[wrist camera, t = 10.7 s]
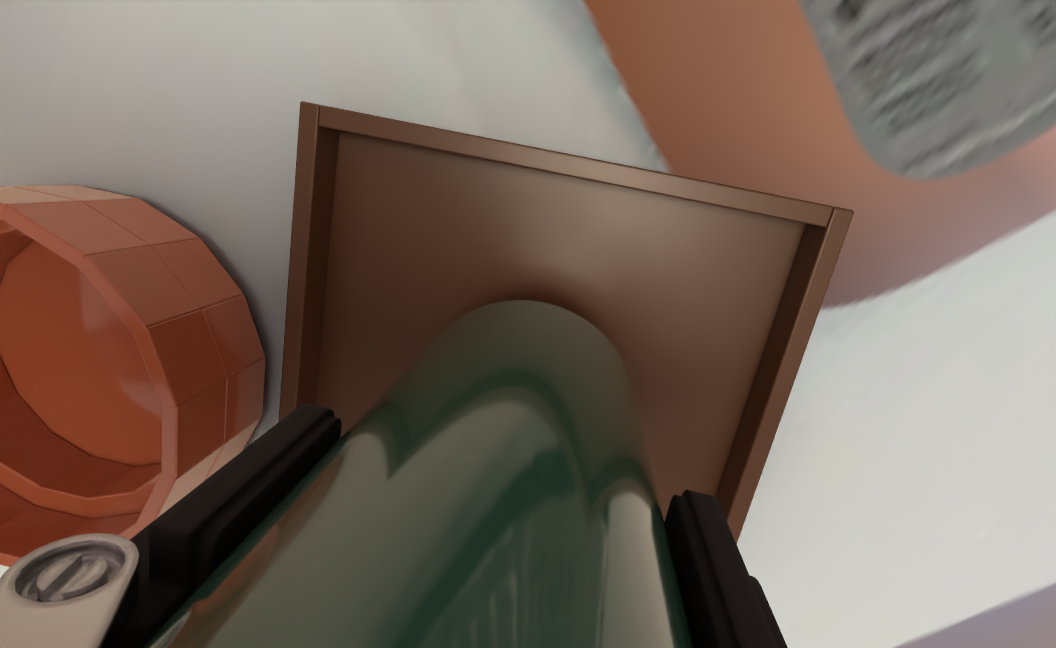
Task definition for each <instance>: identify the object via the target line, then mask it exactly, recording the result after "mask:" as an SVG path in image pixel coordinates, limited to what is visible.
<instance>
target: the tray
mask: <svg viewBox="0 0 1056 648" xmlns="http://www.w3.org/2000/svg"><path fill="white" fill-rule="evenodd" d="M853 214H854V211H853V210H849V209H844V208H839V207H832V206H829V205H824V204H818V203H814V202H808V201H804V200H799V199H793V198H788V197H783V196H778V195H773V194H768V193H763V192H758V191H753V190H748V189H743V188H738V187H733V186H728V185H723V184H718V183H713V182H707V181H702V180H697V179H692V178H687V177H682V176H677V175H672V174H667V173H662V172H657V171H652V170H647V169H642V168H637V167H632V166H627V165H622V164H616V163H611V162H606V161H601V160H596V159H591V158H586V157H581V156H576V155H571V154H566V153H561V152H556V151H551V150H546V149H541V148H536V147H530V146H525V145H520V144H515V143H510V142H505V141H500V140H495V139H490V138H485V137H480V136H475V135H470V134H465V133H460V132H455V131H450V130H445V129H439V128H434V127H429V126H424V125H419V124H414V123H409V122H404V121H399V120H394V119H389V118H384V117H379V116H374V115H369V114H364V113H359V112H353V111H348V110H343V109H338V108H333V107H328V106H323V105H318V104H313V103H308V102H303V101H302V102H301V103H300V116H299V131H298V146H297V160H296V175H295V190H294V204H293V219H292V234H291V248H290V263H289V278H288V293H287V307H286V322H285V337H284V351H283V366H282V381H281V395H280V410H279V422H280V421H281V420H282V419H284V418H285V417H286V416H287V415H289V414H290V413H291V412H293V411H294V410H295V409H296V408H298V407H299V406H300V405H302V404H304V403H306V404H311V405H315V406H320V407H324V408H329V409H332V410H333V411H334V415H335V418H340V419H341V422H342V427H341V437H342V436H343V435H344V434H345V433H346V432H347V431H348V430H349V429H350V428H351V426H352V425H353V424H354V423H355V422H356V421H357V420H358V419H359V418H360V417H361V416H362V415H363V414H364V413H365V412H366V411H367V410H368V409H369V408H370V406H371V405H372V404H373V403H374V402H375V401H376V400H377V399H378V398H379V397H380V396H381V395H382V394H383V393H384V392H385V391H386V390H387V389H388V388H389V387H390V385H391V384H392V383H393V382H394V381H395V380H396V379H397V378H398V377H399V376H400V375H401V374H402V373H403V372H404V371H405V370H406V369H407V368H408V367H409V365H410V364H411V363H412V362H413V361H414V360H415V359H416V358H417V357H418V356H419V355H420V354H421V353H422V352H423V351H424V350H425V349H426V348H427V347H428V345H429V344H430V343H431V342H432V341H433V340H434V339H435V338H436V337H437V336H438V335H439V334H440V333H441V332H442V331H443V330H444V329H445V328H446V327H447V326H448V325H449V324H451V323H452V322H453V321H455V320H456V319H457V318H459V317H461V316H462V315H464V314H466V313H468V312H469V311H471V310H474V309H476V308H479V307H481V306H484V305H488V304H492V303H496V302H501V301H510V300H531V301H538V302H544V303H548V304H552V305H555V306H559V307H561V308H564V309H566V310H568V311H571V312H573V313H575V314H577V315H578V316H580V317H582V318H583V319H585V320H587V321H588V322H589V323H591V324H592V325H593V326H595V327H596V328H597V329H599V330H600V331H601V332H602V333H603V334H604V335H605V336H606V337H607V338H608V339H609V341H610V342H611V343H612V344H613V346H614V347H615V348H616V350H617V351H618V352H619V354H620V356H621V358H622V360H623V361H624V363H625V365H626V367H627V370H628V372H629V375H630V378H631V381H632V385H633V390H634V394H635V398H636V402H637V407H638V411H639V415H640V420H641V424H642V428H643V433H644V437H645V441H646V446H647V450H648V454H649V459H650V463H651V467H652V472H653V476H654V480H655V485H656V489H657V493H658V498H659V502H660V506H661V511H662V515H663V519H664V521H665V518H666V514H667V511H668V508H669V505H670V501H671V499H672V497H673V495H679V496H682V494H683V492H684V491H685V490H686V489H687V490H691V491H695V492H700V493H704V494H709V495H713V496H716V497H717V499H718V501H719V504H720V506H721V508H722V511H723V513H724V516H725V518H726V520H727V523H728V525H729V528H730V530H731V533H732V535H733V537H734V540H735V542H736V544H737V541H738V538H739V536H740V533H741V530H742V527H743V524H744V521H745V519H746V516H747V513H748V510H749V507H750V505H751V502H752V499H753V496H754V493H755V490H756V488H757V485H758V482H759V479H760V476H761V474H762V471H763V468H764V465H765V462H766V459H767V457H768V454H769V451H770V448H771V445H772V443H773V440H774V437H775V434H776V431H777V428H778V426H779V423H780V420H781V417H782V414H783V412H784V409H785V406H786V403H787V400H788V397H789V395H790V392H791V389H792V386H793V383H794V381H795V378H796V375H797V372H798V369H799V366H800V364H801V361H802V358H803V355H804V352H805V349H806V347H807V344H808V341H809V338H810V335H811V333H812V330H813V327H814V324H815V321H816V318H817V316H818V313H819V310H820V307H821V304H822V301H823V299H824V296H825V293H826V290H827V287H828V285H829V282H830V279H831V276H832V273H833V270H834V267H835V265H836V262H837V259H838V256H839V253H840V251H841V248H842V245H843V242H844V240H845V237H846V234H847V231H848V228H849V225H850V222H851V220H852V217H853ZM341 437H340V438H341Z"/></svg>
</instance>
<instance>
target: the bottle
mask: <svg viewBox="0 0 1056 648" xmlns="http://www.w3.org/2000/svg"><path fill="white" fill-rule="evenodd" d="M142 648H693V645H692V640H691V636H690V632H689V627H688V623H687V619H686V614H685V610H684V606H683V602H682V597H681V593H680V589H679V584H678V580H677V576H676V571H675V567H674V563H673V558H672V554H671V550H670V545H669V541H668V537H667V532H666V528H665V524H664V519H663V515H662V511H661V506H660V502H659V498H658V493H657V489H656V485H655V480H654V476H653V472H652V467H651V463H650V459H649V454H648V450H647V446H646V441H645V437H644V433H643V428H642V424H641V420H640V415H639V411H638V407H637V402H636V398H635V394H634V390H633V385H632V381H631V378H630V375H629V372H628V370H627V367H626V365H625V363H624V361H623V360H622V358H621V356H620V354H619V352H618V351H617V350H616V348H615V347H614V346H613V344H612V343H611V342H610V341H609V339H608V338H607V337H606V336H605V335H604V334H603V333H602V332H601V331H600V330H599V329H597V328H596V327H595V326H593V325H592V324H591V323H589V322H588V321H587V320H585V319H583V318H582V317H580V316H578V315H577V314H575V313H573V312H571V311H568V310H566V309H564V308H561V307H559V306H555V305H552V304H548V303H544V302H538V301H531V300H510V301H501V302H496V303H492V304H488V305H484V306H481V307H479V308H476V309H474V310H471V311H469V312H468V313H466V314H464V315H462V316H461V317H459V318H457V319H456V320H455V321H453V322H452V323H451V324H449V325H448V326H447V327H446V328H445V329H444V330H443V331H442V332H441V333H440V334H439V335H438V336H437V337H436V338H435V339H434V340H433V341H432V342H431V343H430V344H429V345H428V347H427V348H426V349H425V350H424V351H423V352H422V353H421V354H420V355H419V356H418V357H417V358H416V359H415V360H414V361H413V362H412V363H411V364H410V365H409V367H408V368H407V369H406V370H405V371H404V372H403V373H402V374H401V375H400V376H399V377H398V378H397V379H396V380H395V381H394V382H393V383H392V384H391V385H390V387H389V388H388V389H387V390H386V391H385V392H384V393H383V394H382V395H381V396H380V397H379V398H378V399H377V400H376V401H375V402H374V403H373V404H372V405H371V406H370V408H369V409H368V410H367V411H366V412H365V413H364V414H363V415H362V416H361V417H360V418H359V419H358V420H357V421H356V422H355V423H354V424H353V425H352V426H351V428H350V429H349V430H348V431H347V432H346V433H345V434H344V435H343V436H342V437H341V438H340V439H339V440H338V441H337V442H336V443H335V444H334V445H333V446H332V448H331V449H330V450H329V451H328V452H327V453H326V454H325V455H324V456H323V457H322V458H321V459H320V460H319V461H318V462H317V463H316V464H315V465H314V466H313V468H312V469H311V470H310V471H309V472H308V473H307V474H306V475H305V476H304V477H303V478H302V479H301V480H300V481H299V482H298V483H297V484H296V485H295V486H294V488H293V489H292V490H291V491H290V492H289V493H288V494H287V495H286V496H285V497H284V498H283V499H282V500H281V501H280V502H279V503H278V504H277V505H276V506H275V508H274V509H273V510H272V511H271V512H270V513H269V514H268V515H267V516H266V517H265V518H264V519H263V520H262V521H261V522H260V523H259V524H258V525H257V526H256V528H255V529H254V530H253V531H252V532H251V533H250V534H249V535H248V536H247V537H246V538H245V539H244V540H243V541H242V542H241V543H240V544H239V545H238V546H237V548H236V549H235V550H234V551H233V552H232V553H231V554H230V555H229V556H228V557H227V558H226V559H225V560H224V561H223V562H222V563H221V564H220V565H219V566H218V568H217V569H216V570H215V571H214V572H213V573H212V574H211V575H210V576H209V577H208V578H207V579H206V580H205V581H204V582H203V583H202V584H201V585H200V586H199V588H198V589H197V590H196V591H195V592H194V593H193V594H192V595H191V596H190V597H189V598H188V599H187V600H186V601H185V602H184V603H183V604H182V605H181V606H180V608H179V609H178V610H177V611H176V612H175V613H174V614H173V615H172V616H171V617H170V618H169V619H168V620H167V621H166V622H165V623H164V624H163V625H162V626H161V628H160V629H159V630H158V631H157V632H156V633H155V634H154V635H153V636H152V637H151V638H150V639H149V640H148V641H147V642H146V643H145V644H144V645H143V646H142Z"/></svg>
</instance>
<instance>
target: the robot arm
mask: <svg viewBox="0 0 1056 648" xmlns="http://www.w3.org/2000/svg"><path fill="white" fill-rule="evenodd" d="M341 427H342V422H341V419H340V418H335V415H334V411H333V410H332V409H329V408H324V407H320V406H315V405H311V404H306V403H304V404H302V405H300V406H299V407H298V408H296V409H295V410H294V411H293V412H291V413H290V414H289V415H287V416H286V417H285V418H284V419H282V420H281V421H280V422H279V423H277V424H276V425H275V426H274V427H272V428H271V429H270V430H268V431H267V432H266V433H265V434H263V435H262V436H261V437H260V438H258V439H257V440H256V441H255V442H253V443H252V444H251V445H249V446H248V447H247V448H246V449H244V450H243V451H242V452H241V453H239V454H238V455H237V456H235V457H234V458H233V459H232V460H230V461H229V462H228V463H226V464H225V465H224V466H223V467H221V468H220V469H219V470H217V471H216V472H215V473H214V474H212V475H211V476H210V477H209V478H207V479H206V480H205V481H204V482H202V483H201V484H200V485H198V486H197V487H196V488H195V489H193V490H192V491H191V492H190V493H188V494H187V495H186V496H184V497H183V498H182V499H181V500H179V501H178V502H177V503H176V504H174V505H173V506H172V507H171V508H169V509H168V510H167V511H165V512H164V513H163V514H162V515H160V516H159V517H158V518H157V519H155V520H154V521H153V522H152V523H150V524H149V525H148V526H146V527H145V528H144V529H143V530H141V531H140V532H139V533H138V534H136V535H135V536H134V537H132V538H131V539H130V540H129V539H127V538H125V537H122V536H118V535H115V534H106V533H91V534H83V535H75V536H71V537H68V538H64V539H60V540H57V541H54V542H51V543H49V544H47V545H44V546H42V547H40V548H37V549H35V550H33V551H32V552H30V553H28V554H27V555H25V556H24V557H22V558H20V559H19V560H17V561H16V562H15V563H14V564H13V565H12V566H11V567H10V568H9V569H8V570H7V571H6V572H5V573H4V574H3V575H2V577H1V578H0V648H142V646H143V645H144V644H145V643H146V642H147V641H148V640H149V639H150V638H151V637H152V636H153V635H154V634H155V633H156V632H157V631H158V630H159V629H160V628H161V626H162V625H163V624H164V623H165V622H166V621H167V620H168V619H169V618H170V617H171V616H172V615H173V614H174V613H175V612H176V611H177V610H178V609H179V608H180V606H181V605H182V604H183V603H184V602H185V601H186V600H187V599H188V598H189V597H190V596H191V595H192V594H193V593H194V592H195V591H196V590H197V589H198V588H199V586H200V585H201V584H202V583H203V582H204V581H205V580H206V579H207V578H208V577H209V576H210V575H211V574H212V573H213V572H214V571H215V570H216V569H217V568H218V566H219V565H220V564H221V563H222V562H223V561H224V560H225V559H226V558H227V557H228V556H229V555H230V554H231V553H232V552H233V551H234V550H235V549H236V548H237V546H238V545H239V544H240V543H241V542H242V541H243V540H244V539H245V538H246V537H247V536H248V535H249V534H250V533H251V532H252V531H253V530H254V529H255V528H256V526H257V525H258V524H259V523H260V522H261V521H262V520H263V519H264V518H265V517H266V516H267V515H268V514H269V513H270V512H271V511H272V510H273V509H274V508H275V506H276V505H277V504H278V503H279V502H280V501H281V500H282V499H283V498H284V497H285V496H286V495H287V494H288V493H289V492H290V491H291V490H292V489H293V488H294V486H295V485H296V484H297V483H298V482H299V481H300V480H301V479H302V478H303V477H304V476H305V475H306V474H307V473H308V472H309V471H310V470H311V469H312V468H313V466H314V465H315V464H316V463H317V462H318V461H319V460H320V459H321V458H322V457H323V456H324V455H325V454H326V453H327V452H328V451H329V450H330V449H331V448H332V446H333V445H334V444H335V443H336V442H337V441H338V440H339V439H340V437H341ZM664 524H665V528H666V532H667V537H668V541H669V545H670V550H671V554H672V558H673V563H674V567H675V571H676V576H677V580H678V584H679V589H680V593H681V597H682V602H683V606H684V610H685V614H686V619H687V623H688V627H689V632H690V636H691V640H692V645H693V648H787V645H786V643H785V641H784V638H783V636H782V634H781V631H780V629H779V627H778V624H777V622H776V620H775V617H774V615H773V613H772V610H771V608H770V606H769V604H768V601H767V599H766V597H765V594H764V592H763V590H762V587H761V585H760V584H759V582H758V580H757V579H756V578H754V577H753V576H749V574H748V571H747V569H746V566H745V564H744V562H743V559H742V557H741V554H740V552H739V550H738V547H737V545H736V542H735V540H734V537H733V535H732V533H731V530H730V528H729V525H728V523H727V520H726V518H725V516H724V513H723V511H722V508H721V506H720V504H719V501H718V499H717V497H716V496H713V495H709V494H704V493H700V492H695V491H691V490H687V489H686V490H685V491H684V492H683V494H682V496H679V495H673V497H672V499H671V501H670V505H669V508H668V511H667V514H666V518H665V521H664Z"/></svg>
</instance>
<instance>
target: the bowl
mask: <svg viewBox="0 0 1056 648" xmlns="http://www.w3.org/2000/svg"><path fill="white" fill-rule="evenodd" d="M265 361H266V358H265V354H264V351H263V348H262V345H261V342H260V339H259V336H258V334H257V331H256V328H255V325H254V322H253V319H252V316H251V313H250V310H249V307H248V304H247V301H246V298H245V296H244V295H243V292H242V291H241V289H240V288H239V287H238V286H237V284H236V283H235V282H234V281H233V279H232V278H231V277H230V275H229V274H228V273H227V272H226V270H225V269H224V268H223V266H222V265H221V264H220V263H219V261H218V260H217V259H216V258H215V256H214V255H213V254H212V252H211V251H210V250H209V249H208V247H207V246H206V245H205V244H204V242H203V241H202V240H201V239H199V237H198V236H197V235H195V234H194V233H192V232H191V231H189V230H188V229H186V228H184V227H183V226H181V225H180V224H178V223H177V222H175V221H174V220H172V219H171V218H169V217H167V216H166V215H164V214H163V213H161V212H160V211H158V210H157V209H155V208H154V207H152V206H150V205H149V204H147V203H146V202H144V201H143V200H141V199H139V198H135V197H130V196H126V195H121V194H116V193H111V192H106V191H102V190H97V189H92V188H87V187H83V186H78V185H40V186H0V565H3V566H7V567H11V566H12V565H13V564H14V563H15V562H16V561H17V560H19V559H20V558H22V557H24V556H25V555H27V554H28V553H30V552H32V551H33V550H35V549H37V548H40V547H42V546H44V545H47V544H49V543H51V542H54V541H57V540H60V539H64V538H68V537H71V536H75V535H83V534H91V533H106V534H115V535H118V536H122V537H125V538H127V539H129V540H130V539H131V538H132V537H134V536H135V535H136V534H138V533H139V532H140V531H141V530H143V529H144V528H145V527H146V526H148V525H149V524H150V523H152V522H153V521H154V520H155V519H157V518H158V517H159V516H160V515H162V514H163V513H164V512H165V511H167V510H168V509H169V508H171V507H172V506H173V505H174V504H176V503H177V502H178V501H179V500H181V499H182V498H183V497H184V496H186V495H187V494H188V493H190V492H191V491H192V490H193V489H195V488H196V487H197V486H198V485H200V484H201V483H202V482H204V481H205V480H206V479H207V478H209V477H210V476H211V475H212V474H214V473H215V472H216V471H217V470H219V469H220V468H221V467H223V466H224V465H225V464H226V463H228V462H229V461H230V460H232V459H233V458H234V457H235V456H237V455H238V454H239V453H241V452H242V451H243V449H244V447H245V446H246V444H247V442H248V440H249V438H250V437H251V435H252V433H253V431H254V429H255V428H256V426H257V424H258V422H259V420H260V419H261V416H262V412H263V395H264V378H265Z"/></svg>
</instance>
